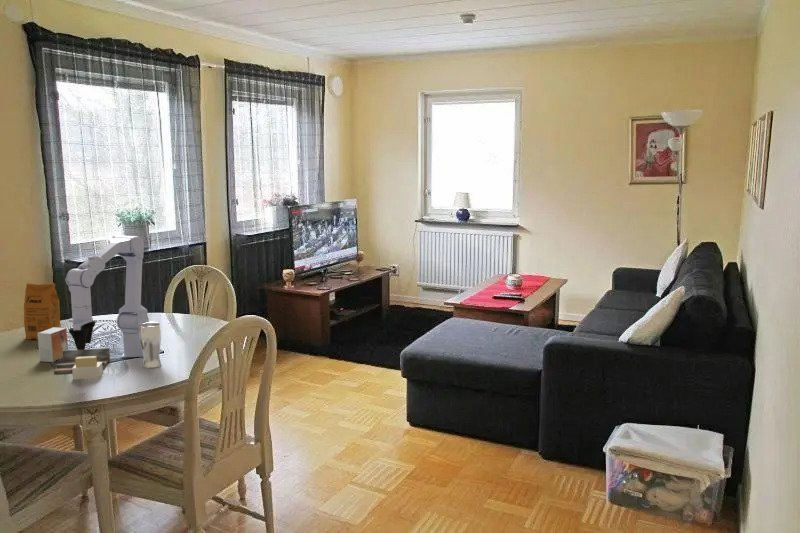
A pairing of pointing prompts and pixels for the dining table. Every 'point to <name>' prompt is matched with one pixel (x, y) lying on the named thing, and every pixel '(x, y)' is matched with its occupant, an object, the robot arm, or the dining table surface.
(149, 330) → the beer glass
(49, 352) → the small box
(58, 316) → the coffee package
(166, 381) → the dining table surface
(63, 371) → the grey brown open tray
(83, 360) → the large cream box
